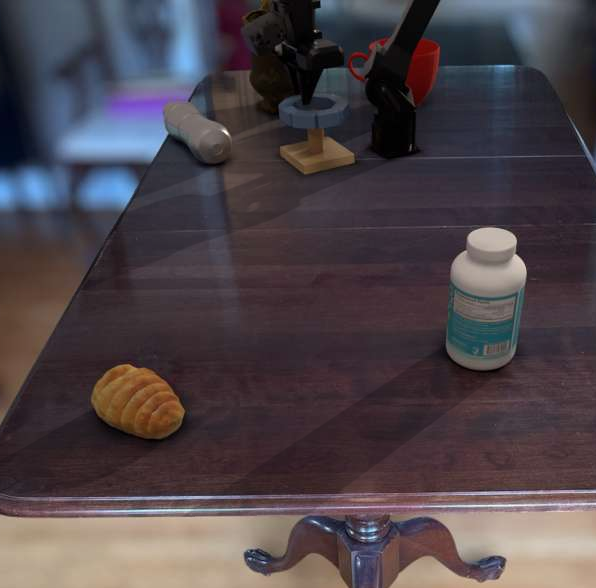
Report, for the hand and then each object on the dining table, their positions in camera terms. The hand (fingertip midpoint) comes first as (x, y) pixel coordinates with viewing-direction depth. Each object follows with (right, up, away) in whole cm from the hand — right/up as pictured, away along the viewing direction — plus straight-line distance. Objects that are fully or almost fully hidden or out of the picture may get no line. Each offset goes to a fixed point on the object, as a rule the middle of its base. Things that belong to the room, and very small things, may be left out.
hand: (302, 102), depth 114 cm
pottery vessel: (-5, +10, +23) cm, 26 cm away
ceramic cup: (+15, +10, +23) cm, 29 cm away
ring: (+2, -3, -2) cm, 4 cm away
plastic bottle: (-13, -8, -2) cm, 16 cm away
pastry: (-11, -49, -44) cm, 67 cm away
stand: (+2, -8, +2) cm, 9 cm away
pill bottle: (+23, -43, -37) cm, 61 cm away
